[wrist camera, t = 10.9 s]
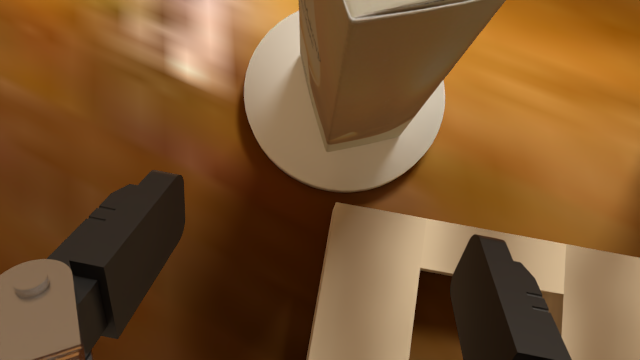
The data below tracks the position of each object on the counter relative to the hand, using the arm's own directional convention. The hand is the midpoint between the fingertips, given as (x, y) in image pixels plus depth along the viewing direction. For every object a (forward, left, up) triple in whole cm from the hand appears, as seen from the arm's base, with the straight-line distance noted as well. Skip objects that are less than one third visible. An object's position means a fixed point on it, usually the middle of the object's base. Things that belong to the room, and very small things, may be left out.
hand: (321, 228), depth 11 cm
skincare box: (0, -8, -9) cm, 13 cm away
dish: (0, -9, -10) cm, 13 cm away
